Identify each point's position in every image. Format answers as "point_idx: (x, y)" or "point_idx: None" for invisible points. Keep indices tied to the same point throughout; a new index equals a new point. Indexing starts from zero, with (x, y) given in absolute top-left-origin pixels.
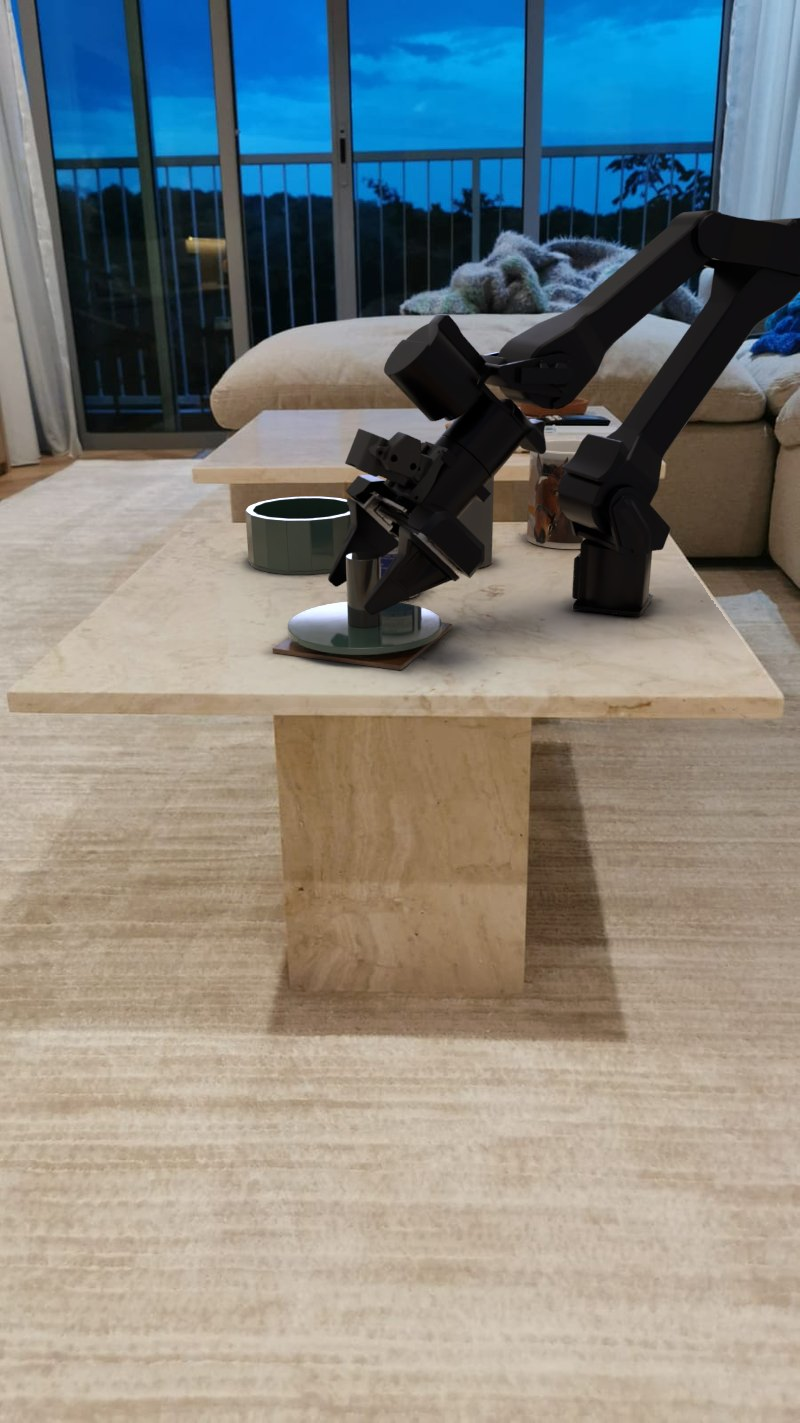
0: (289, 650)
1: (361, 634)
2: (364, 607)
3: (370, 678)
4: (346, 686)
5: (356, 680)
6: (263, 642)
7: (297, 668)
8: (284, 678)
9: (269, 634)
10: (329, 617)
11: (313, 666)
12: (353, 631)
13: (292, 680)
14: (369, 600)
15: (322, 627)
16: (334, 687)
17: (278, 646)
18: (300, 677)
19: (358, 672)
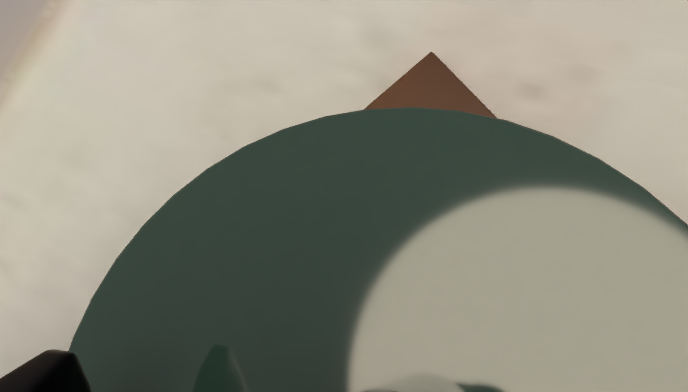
0: (374, 102)
1: (237, 376)
2: (54, 350)
3: (37, 274)
4: (25, 177)
5: (47, 226)
6: (582, 61)
7: (240, 92)
8: (182, 28)
9: (684, 114)
10: (553, 359)
11: (229, 147)
12: (288, 362)
13: (154, 45)
14: (8, 375)
15: (416, 261)
16: (38, 141)
17: (441, 78)
18: (163, 75)
19: (101, 263)
